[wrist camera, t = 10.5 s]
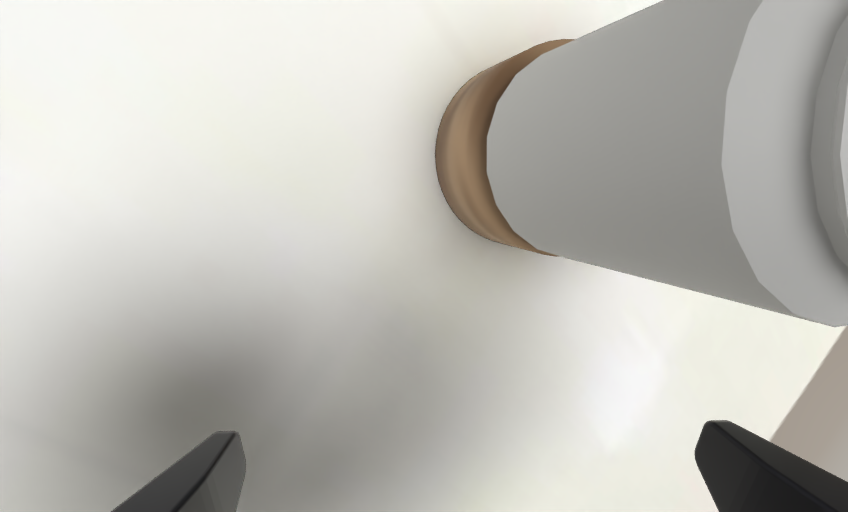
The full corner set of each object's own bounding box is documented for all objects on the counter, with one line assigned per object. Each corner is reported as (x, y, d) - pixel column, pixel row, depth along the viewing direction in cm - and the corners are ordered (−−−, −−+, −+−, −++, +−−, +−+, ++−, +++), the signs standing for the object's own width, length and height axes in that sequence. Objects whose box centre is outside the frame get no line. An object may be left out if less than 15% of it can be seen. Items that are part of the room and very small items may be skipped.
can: (681, 156, 21) (1181, 128, 9) (563, 293, 20) (955, 441, 9) (571, 5, 18) (1066, -271, 7) (433, 155, 18) (741, 113, 6)
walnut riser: (531, 277, 24) (581, 295, 20) (399, 173, 21) (428, 172, 18) (624, 140, 25) (690, 133, 21) (506, 22, 22) (557, -10, 18)
